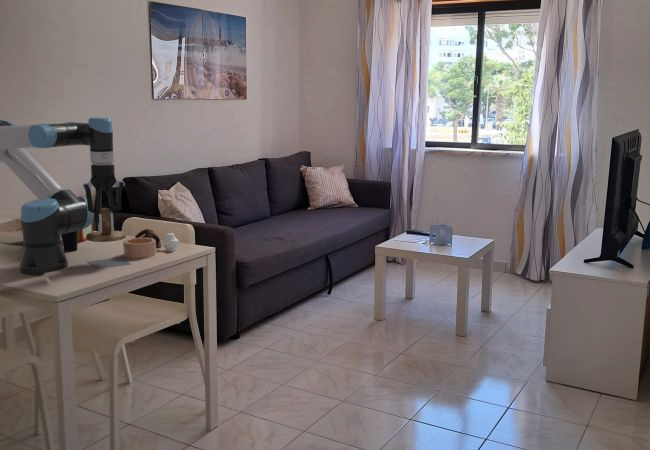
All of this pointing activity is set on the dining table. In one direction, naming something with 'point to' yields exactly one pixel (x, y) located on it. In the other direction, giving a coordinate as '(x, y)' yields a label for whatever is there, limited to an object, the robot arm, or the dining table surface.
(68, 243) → the drinking cup
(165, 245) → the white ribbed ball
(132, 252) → the terracotta bowl
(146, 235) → the pottery mug
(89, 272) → the dining table surface
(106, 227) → the walnut lid
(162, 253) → the dining table surface
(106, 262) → the grey mat
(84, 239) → the baking soda box
